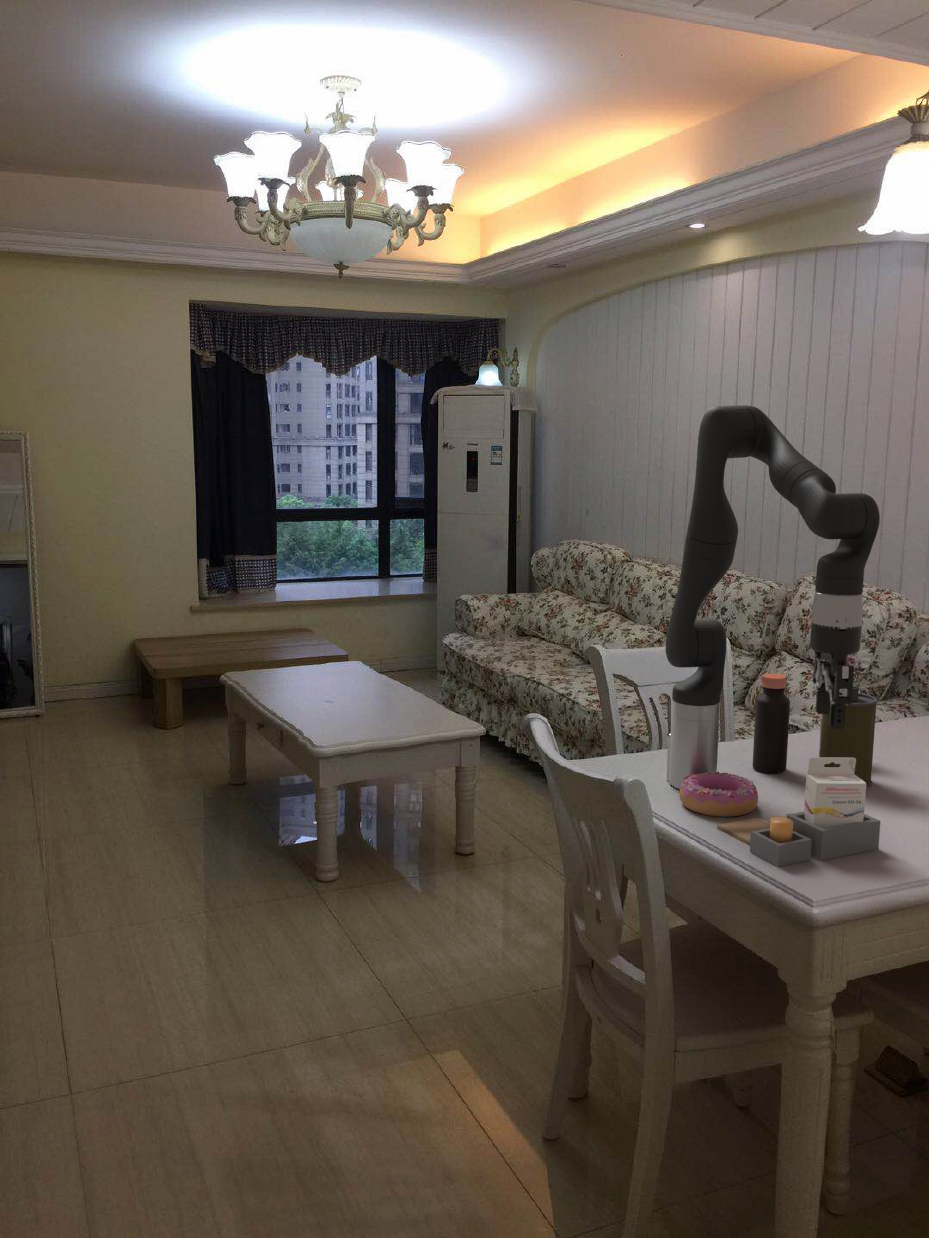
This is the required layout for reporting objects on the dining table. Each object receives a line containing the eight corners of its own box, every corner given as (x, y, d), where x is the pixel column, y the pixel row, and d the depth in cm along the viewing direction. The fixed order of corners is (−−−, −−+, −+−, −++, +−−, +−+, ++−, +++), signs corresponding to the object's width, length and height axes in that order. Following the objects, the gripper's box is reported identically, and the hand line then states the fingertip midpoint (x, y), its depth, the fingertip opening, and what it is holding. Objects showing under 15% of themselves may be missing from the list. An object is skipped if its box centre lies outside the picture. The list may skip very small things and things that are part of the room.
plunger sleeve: (749, 851, 172) (750, 831, 172) (781, 845, 175) (783, 825, 174) (777, 866, 166) (778, 845, 165) (810, 859, 169) (811, 839, 168)
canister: (872, 791, 203) (879, 692, 200) (816, 785, 206) (822, 687, 203) (871, 775, 213) (878, 680, 210) (818, 770, 216) (823, 676, 213)
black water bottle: (793, 770, 216) (798, 677, 213) (771, 776, 212) (776, 681, 209) (766, 762, 221) (771, 671, 218) (745, 767, 218) (750, 675, 214)
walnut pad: (717, 827, 183) (717, 824, 183) (757, 820, 186) (757, 817, 186) (750, 845, 175) (750, 842, 175) (792, 837, 178) (792, 834, 178)
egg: (764, 839, 171) (765, 818, 170) (781, 835, 172) (783, 815, 172) (779, 846, 168) (780, 826, 167) (796, 843, 169) (798, 823, 169)
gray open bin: (784, 842, 176) (786, 814, 175) (841, 832, 181) (842, 804, 180) (820, 860, 168) (822, 831, 168) (878, 849, 174) (880, 820, 173)
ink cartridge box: (812, 850, 172) (817, 765, 170) (801, 839, 177) (806, 756, 175) (862, 850, 173) (868, 765, 170) (850, 838, 177) (856, 756, 175)
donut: (770, 817, 189) (771, 791, 188) (695, 821, 186) (696, 795, 186) (738, 792, 203) (739, 767, 202) (668, 795, 200) (669, 770, 200)
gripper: (801, 612, 170) (795, 708, 173) (823, 628, 156) (816, 732, 159) (848, 613, 170) (841, 709, 172) (874, 629, 156) (866, 733, 158)
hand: (829, 720), depth 166 cm, fingers open, 8 cm apart
